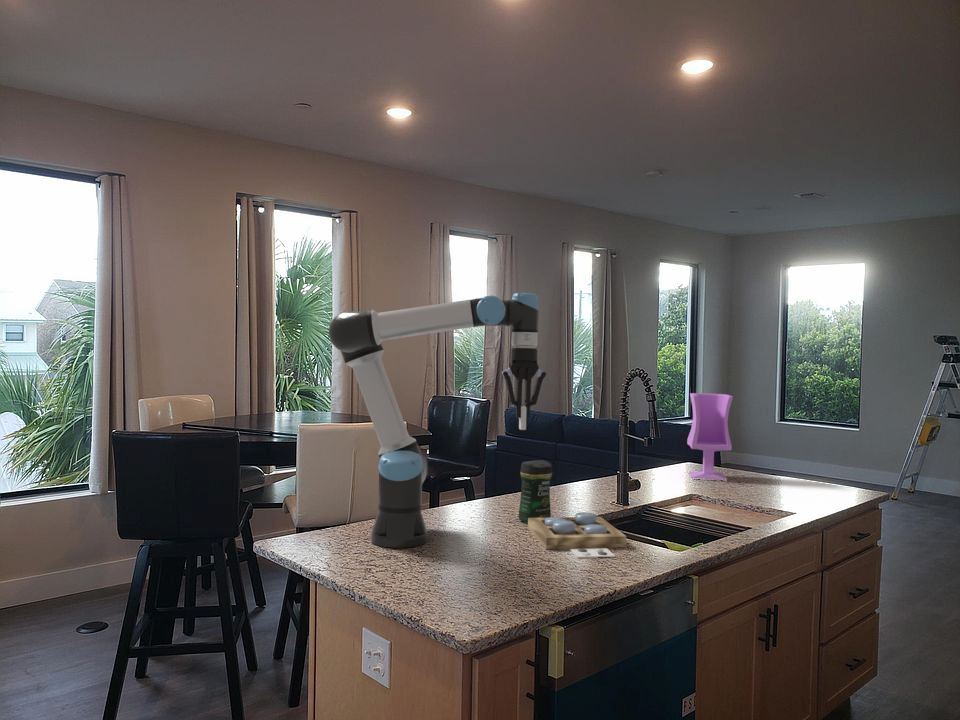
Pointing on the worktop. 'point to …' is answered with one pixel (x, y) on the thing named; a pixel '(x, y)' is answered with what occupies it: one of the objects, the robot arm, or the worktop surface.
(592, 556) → the card
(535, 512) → the coffee jar
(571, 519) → the board
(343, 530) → the worktop surface
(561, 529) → the button
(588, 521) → the button
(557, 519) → the button
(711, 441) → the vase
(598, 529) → the button
